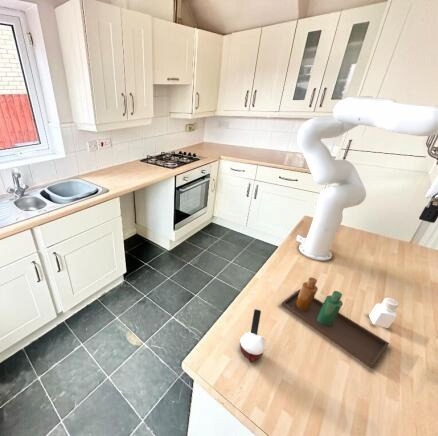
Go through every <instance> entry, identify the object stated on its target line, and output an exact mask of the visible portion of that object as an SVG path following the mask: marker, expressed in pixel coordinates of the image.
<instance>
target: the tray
mask: <svg viewBox="0 0 438 436" xmlns="http://www.w3.org/2000/svg"><path fill="white" fill-rule="evenodd" d="M300 290H301V288H299V289H298V290H297V291H295V292H294V293H293V294H291V295H290V296H288V297H287V298H286V299H285V300H283V301H282V302H281V305H280V306H281V307H282V308H283V309H285V310H287V311H288V312H290V313H291V314H292V315H293V316H295V317H297V318H298V319H299V320H301V321H302V322H304V323H305V324H306V325H308V326H309V327H311V328H313V330H314V331H317V332H318V333H320V334H321V335H323V336H324V337H325V338H326V339H327V340H330V341H331V342H332V343H334V344H335V345H336V346H338V347H339V348H341V349H343V350H344V351H345V352H347V353H348V354H350V355H351V356H352V357H354V358H355V359H356V360H358V361H359V362H361V363H363V364H364V365H365V366H367V367H368V368H370V369H372V368H373V367H374V365H375V364H376V362H377V361H378V360H379V359H380V357H381V356H382V354H383V353H384V351H385V350H386V349H387V347H388V346H389V345H390V342H388V341H387V340H385V339H384V338H381V337H380V336H378V335H376V334H375V333H373V332H372V331H370V330H369V329H367V328H365V327H364V326H362V325H360V324H358V323H357V322H355V321H353V319H351V318H348V317H347V316H345V315H344V314H343V313H340V312H339V313H338V314H337V316H336V318H335V320H334V322H333V324H332V325H331V326H324V325H322V324H321V323H319V322H318V320H317V315H318V313H319V311H320V309H321V307H322V305H323V303H324V302H322V301H320V300H319V299H317V298H316V297H314V299H313V302H312V304H311V306H310V308H309V310H308V311H302V310H300V309H298V308H297V307H296V305H295V302H296V300H297V297H298V295H299V292H300Z"/></svg>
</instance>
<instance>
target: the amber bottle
mask: <svg viewBox="0 0 438 436" xmlns="http://www.w3.org/2000/svg"><path fill="white" fill-rule="evenodd" d="M317 283H318V279H316V278H315V277H313V276H311V277H309V278H308V280H307V281H304V282H303V283H302V285H301V287H300V289H301V290H300V292H299V295H298V297H297V300H296V302H295V305H296V307H297V308H298V309H300V310H302V311H308V310H309V308H310V306H311V304H312V302H313V299H314V298H316V295H317V293H318V289H319V288H318V287H317Z"/></svg>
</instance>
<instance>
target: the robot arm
mask: <svg viewBox="0 0 438 436" xmlns="http://www.w3.org/2000/svg"><path fill="white" fill-rule="evenodd" d="M358 126H367V127H370V128H371V127H372V128H377V129H379V130H384V131H385V132H386V131H387V132H390V133H391V132H392V133H397V134H402V135H409V136H414V137H415V136H417V137H433V136H438V105H421V104H420V105H419V104H408V103H407V104H406V103H400V102H397V100H396V99H393V98H379V97H373V96H369V95H360V96H359V95H357V96H349V97H345V98H343V99H341V100H339V101H338V102H337V103H336V104H335V105H334V108H333V110H332V115H331V116H319V117H318V116H317V117H312V118H310V119H308V120H306V121H304V122H303V123H302V125H301V126H300V128H299V129H298V132H297V138H296V139H297V140H296V142H297V145H298V148H299V150H300V152H301V153H302V155H303V157H304V159H305V162H306V164H307V168H308V169H309V171H310V174H311V176H312V178H313V180H314V182H315V183H316V184H317V185H320V186H328V185H332V186H328V187H325V188H324V189H323V190H322V191H321V192H320V193H319V194H318V197H317V203H316V209H315V213H314V216H313V219H312V221H311V225H310V227H309V230H308V233H307V236H306V237H303V236H302V235H300V234H298V235H297V236H296V237H295V238H296V242H298V243H300V244H299V246H298V251H300V253H301V254H302V255H304V256H305V257H307V258H309V259H313V260H316V261H320V262H321V261H323V262H324V261H329V260H330V259H332V257H333V253H332V251H331V248H332V245H333V243H334V241H335V239H336V237H337V234H338V232H339V229H340V227H341V225H342V222H343V217H344V216H343V211H344V210H345V209H347V208H352V207H356V206H359V205H361V204H362V203H363V202H364V201H365V200H366V198H367V190H366V187H365V186H364V183H363V181H362V179H361V177H360V174H359V173H358V170H357V168H356V166H355V165H354V164H353V163H352V162H350V161H349V160H347V159H334V158H333V156H332V154H331V151H330V149H329V147H328V146H327V145H326V144H325V143H324V142H322V140H324V139H333V138H337V137H340V136H342V135H344V134H346V133H347V132H349V131H351V130H353V129H355V128H356V127H358ZM333 184H334V185H333ZM424 198H425V199H430V200H429V201H428V204H426V206H424V208H423V210H422V212H421V213H420V215H419V217H418V219H419V220H421V221H423V222H428V223H431V224H435V223H436V221H437V220H438V174H437V175H436V177H435V179H434V180H433V182H432V184H431V186H430V187H429V189H428V191H427V193H426V194H425V196H424Z"/></svg>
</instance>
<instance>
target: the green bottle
mask: <svg viewBox="0 0 438 436" xmlns="http://www.w3.org/2000/svg"><path fill="white" fill-rule="evenodd" d="M342 297H343V293H342V292H340V291H338V290H334V291H333V292H332V293H331V295H327V296H325V299H324V300H323V302H322V303H323V305H322V307H321V309H320V311H319V313H318V315H317V320H318V322H319V323H321V324H322V325H324V326H331V325H332V324H333V322H334V320H335V318H336V316H337V314H338V313H340V311H341V309H342V307H343V305H344V303H343V301H342V300H341V299H342Z"/></svg>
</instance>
